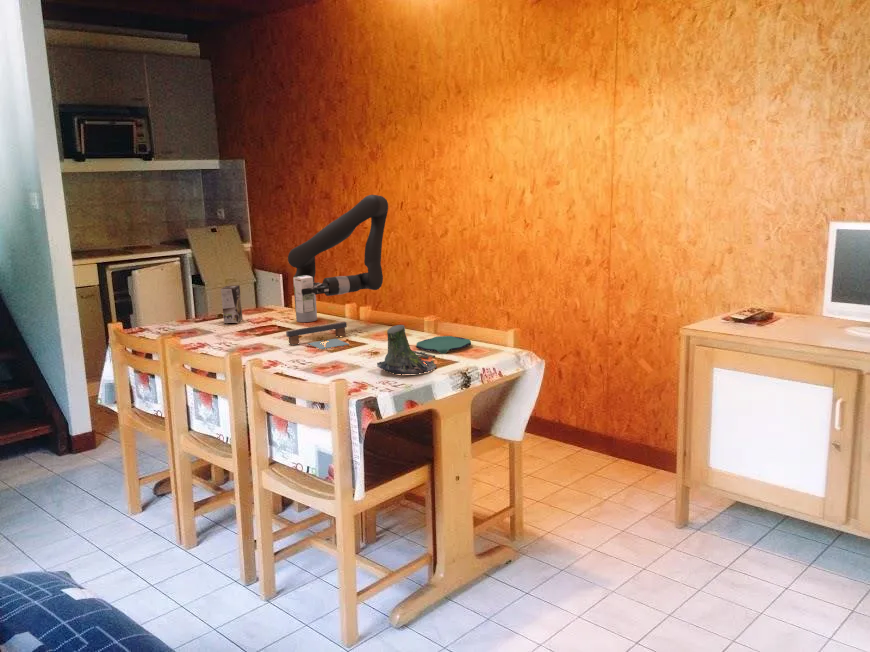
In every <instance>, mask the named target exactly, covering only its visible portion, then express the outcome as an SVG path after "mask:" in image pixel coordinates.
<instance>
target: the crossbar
mask: <svg viewBox="0 0 870 652" xmlns="http://www.w3.org/2000/svg"><path fill="white" fill-rule="evenodd" d="M347 324H348V323H347V322H346V321H340V322H334V323H328V324H322V325H315V326H310V327H309V326H308V327H304V328H297V329H290V330H286V331H285V334H286V337H288V338H289V337H292V336H302V335H309V334H315V333H320V332H322V333H323V332H327V331H328V332H329V331H332V330H334V331H335V329H340V328H345V329H346V328H347V326H348V325H347Z"/></svg>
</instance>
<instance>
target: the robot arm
mask: <svg viewBox="0 0 870 652" xmlns="http://www.w3.org/2000/svg"><path fill="white" fill-rule="evenodd" d="M388 211H389V202H388V201H387V199H386V198H385V197H384V196H383V195H377V194H369V195H366V196H365V197H363V198H362V199H361V200H359V202H358V203H356V205H354V206H353V207H352V208H351V209H349V210H348V211H347V212H345V213H343V214H342V215H340V216H339V217H337V218H336V219H334V220H333V221H331V222H329V224H327V225H326V226H324V227H323V228H322V229H321V230H320V231H318V232H316V234H314V235H313V236H312V237H311V238H309V239H308V240H307V241H304V242H303V243H301V244H299V245H298V246H297V245H296V246H295V247H294V248H292V249H291V250H290V251H289V253H288V256H287V262H288V264H289V265H290V266H291V267H292V268H295V269H296V271H295V274H294V275H293V277H298V276H304V275H307V276H311V277H313V287H312V288H306V289H302V290H301V292H302V294H303V295H304V294H314V307H315V311H314V312H309V313H298V312H296V311H295V317H296V318H295V320H296V322H298V323H310V322H315V321H317V320H318V313H317V311H318V310H317V296H316V295H322V294H324V295H325V296H326V297H331V296H337V295H339V296H340V295H344V294H348V293H349V294H351V293H354V292H359V291H360V290H370V291H371V290H372V291H378V290H379V289H380V288H381V287H382V285H383V281H384V276H383V268H382V248H383V238H384V231H385V227H386V222H387V221H386V220H387V217H388ZM369 219H370V222H371V223H370V230H369V234H368V235H367V236H368V237H367V240H366V242H365V246H364V257H363V259H364V266H365V267H366V268H367V272H362V273H358V274H352V275H351V274H350V275H339V276H331V277H325V278H323V280H322V282H315V277H316V256H317V255H319V254H321V253H323V252H325V251H327V250H330V249H332V248H334V247H336V246H337V245H340V243H342V242H344V241H345V240H347V239H348V238H349V237H350V236H351V235H352V234H353V233H354V231H355V230H356V228H357V227H358V226H360V224H362V223H363V222H366V221H367V220H369ZM292 283H293V284H294V281H292Z"/></svg>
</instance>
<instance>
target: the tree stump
mask: <svg viewBox="0 0 870 652" xmlns="http://www.w3.org/2000/svg"><path fill="white" fill-rule="evenodd" d="M386 333H387V354H386V355H385V357H384V361H383V360H382V361H379V362H376V366H377V368H379V369H382V370H383V371H384V370H385V371H384V372H386V371H388V372H387V373H389V372H391V373H390V374H392V373H394V374H393V375H395V374H401V375H400V376H403V375H402V374H419V373H424V372H428V371H431V370H433V369H434V368H436V369H437V364H436V363H435V361H434V360H430V361H428V360H424V359H422V358H421V357H419V356H417V355H418V354H417V353H415V352H413V351H414V350H412V349H411V347H410V343H409V341H408V337H407V333H406V328H405V325H404V324H397V325H393V326H391V327H390V328H388V329H387V331H386ZM420 358H421V359H420ZM423 362H425V363H426V364H427V365H426V364H424V363H423ZM433 371H434V370H433Z"/></svg>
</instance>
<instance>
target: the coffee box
mask: <svg viewBox="0 0 870 652" xmlns="http://www.w3.org/2000/svg"><path fill="white" fill-rule="evenodd" d="M220 294H221V295H220V296H221V308H222V317H223V324H224V323H238V322H239V321H240V322H242V321H243V320H242V319H244V318H243V309H242V299H241V288H240V285H226V286H224V287H222V288H220ZM241 320H242V321H241ZM240 322H239V323H240ZM239 323H238V324H239Z"/></svg>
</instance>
